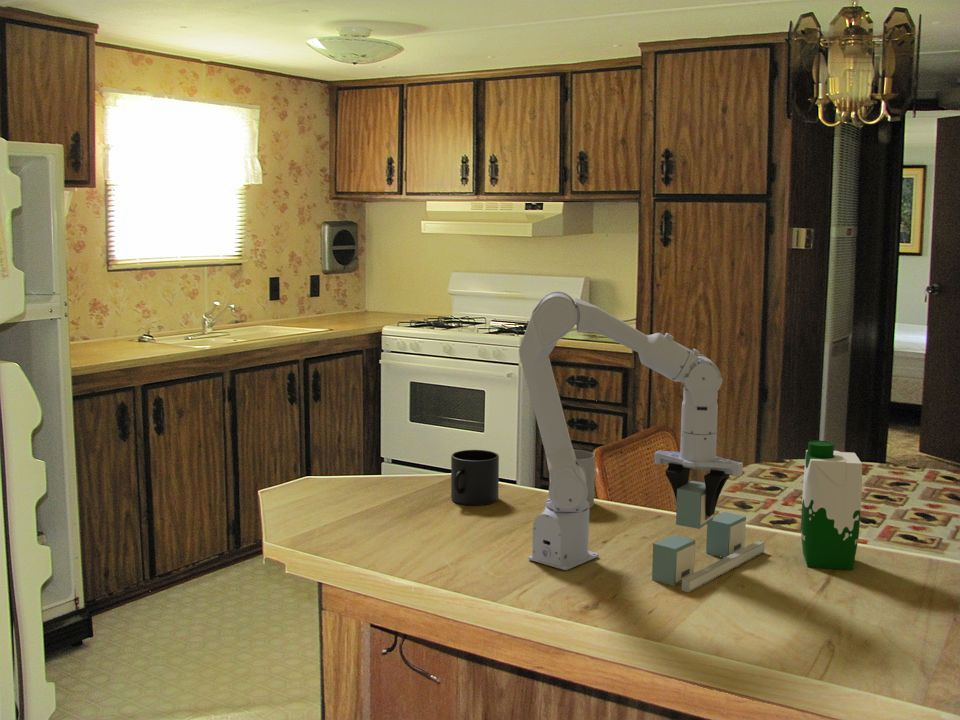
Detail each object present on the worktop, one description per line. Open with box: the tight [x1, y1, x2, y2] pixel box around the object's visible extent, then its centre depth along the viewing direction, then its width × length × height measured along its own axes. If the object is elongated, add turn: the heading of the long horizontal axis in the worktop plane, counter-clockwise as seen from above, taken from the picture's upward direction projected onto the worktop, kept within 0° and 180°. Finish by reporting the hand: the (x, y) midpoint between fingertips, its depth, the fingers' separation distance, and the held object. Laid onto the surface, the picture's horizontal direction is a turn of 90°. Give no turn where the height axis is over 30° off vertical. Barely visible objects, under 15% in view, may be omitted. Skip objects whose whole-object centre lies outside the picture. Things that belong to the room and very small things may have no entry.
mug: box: [450, 449, 500, 507], centre depth 204 cm, size 9×12×9 cm
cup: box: [574, 449, 596, 509], centre depth 202 cm, size 8×8×10 cm
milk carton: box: [800, 440, 863, 571], centre depth 169 cm, size 9×9×20 cm
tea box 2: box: [675, 480, 715, 530], centre depth 169 cm, size 6×4×6 cm
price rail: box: [681, 540, 766, 593], centre depth 166 cm, size 25×1×2 cm, turn 138°
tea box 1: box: [651, 534, 696, 587], centre depth 163 cm, size 6×4×6 cm
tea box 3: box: [705, 511, 747, 558], centre depth 175 cm, size 6×4×6 cm
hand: (695, 512), depth 169 cm, fingers closed on tea box 2, 4 cm apart
